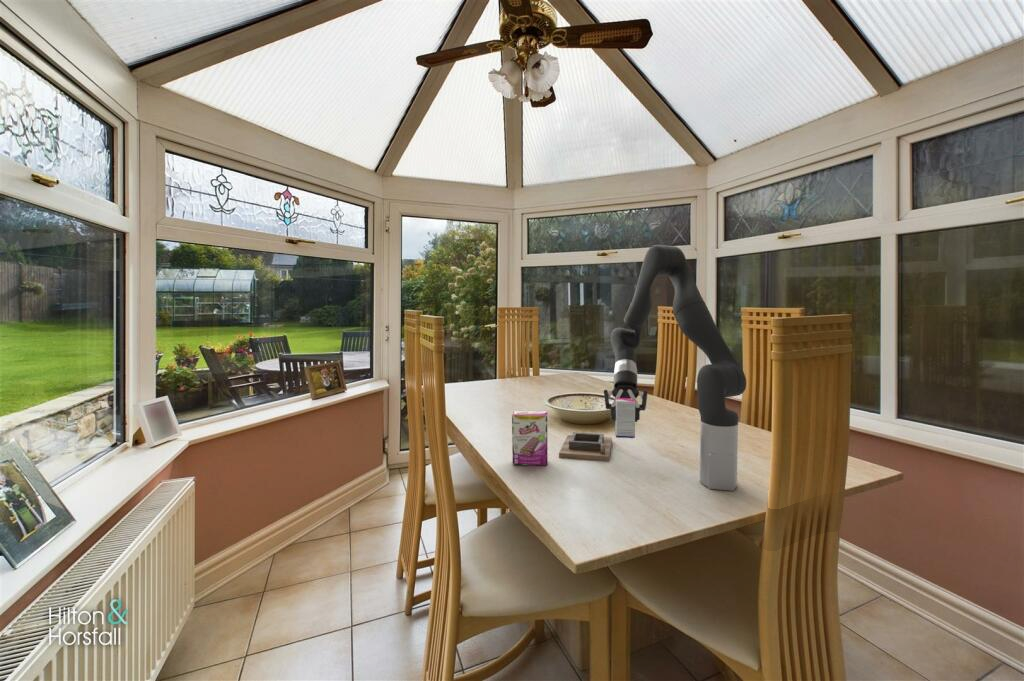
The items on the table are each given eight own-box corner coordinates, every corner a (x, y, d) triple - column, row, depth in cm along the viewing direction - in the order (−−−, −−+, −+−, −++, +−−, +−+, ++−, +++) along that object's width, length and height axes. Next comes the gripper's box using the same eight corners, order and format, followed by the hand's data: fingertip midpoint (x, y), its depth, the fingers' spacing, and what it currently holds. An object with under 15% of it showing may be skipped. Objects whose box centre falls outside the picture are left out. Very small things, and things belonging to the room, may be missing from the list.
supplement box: (635, 438, 131) (635, 401, 130) (615, 437, 132) (615, 401, 132) (634, 432, 137) (633, 397, 136) (615, 432, 138) (614, 397, 137)
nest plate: (608, 461, 137) (608, 447, 136) (559, 457, 141) (558, 443, 141) (611, 441, 156) (611, 429, 156) (568, 438, 160) (567, 427, 160)
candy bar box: (512, 465, 135) (511, 414, 133) (513, 460, 140) (512, 410, 138) (548, 466, 134) (547, 414, 132) (548, 460, 138) (547, 410, 137)
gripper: (602, 369, 142) (600, 412, 132) (648, 369, 138) (649, 414, 128) (604, 382, 148) (602, 425, 137) (647, 383, 144) (649, 427, 133)
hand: (625, 420), depth 132 cm, fingers closed on supplement box, 6 cm apart
